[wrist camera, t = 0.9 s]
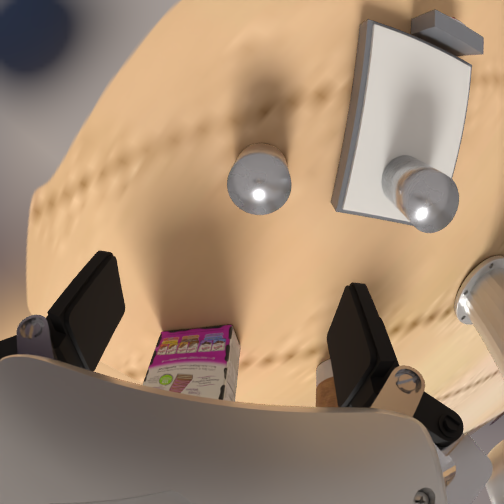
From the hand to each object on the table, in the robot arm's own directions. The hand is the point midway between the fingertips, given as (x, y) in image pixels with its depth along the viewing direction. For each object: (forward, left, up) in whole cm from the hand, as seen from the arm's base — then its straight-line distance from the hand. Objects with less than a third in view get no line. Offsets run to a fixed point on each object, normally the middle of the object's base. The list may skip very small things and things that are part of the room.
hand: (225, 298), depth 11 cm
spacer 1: (-1, -1, -19) cm, 19 cm away
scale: (-14, -9, -19) cm, 25 cm away
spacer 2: (-14, -3, -16) cm, 22 cm away
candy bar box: (+5, +24, -19) cm, 31 cm away
